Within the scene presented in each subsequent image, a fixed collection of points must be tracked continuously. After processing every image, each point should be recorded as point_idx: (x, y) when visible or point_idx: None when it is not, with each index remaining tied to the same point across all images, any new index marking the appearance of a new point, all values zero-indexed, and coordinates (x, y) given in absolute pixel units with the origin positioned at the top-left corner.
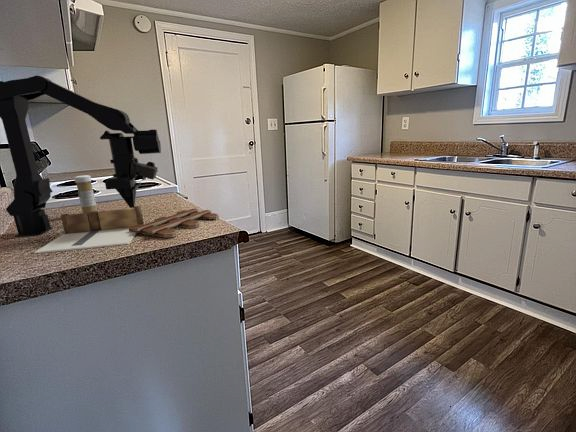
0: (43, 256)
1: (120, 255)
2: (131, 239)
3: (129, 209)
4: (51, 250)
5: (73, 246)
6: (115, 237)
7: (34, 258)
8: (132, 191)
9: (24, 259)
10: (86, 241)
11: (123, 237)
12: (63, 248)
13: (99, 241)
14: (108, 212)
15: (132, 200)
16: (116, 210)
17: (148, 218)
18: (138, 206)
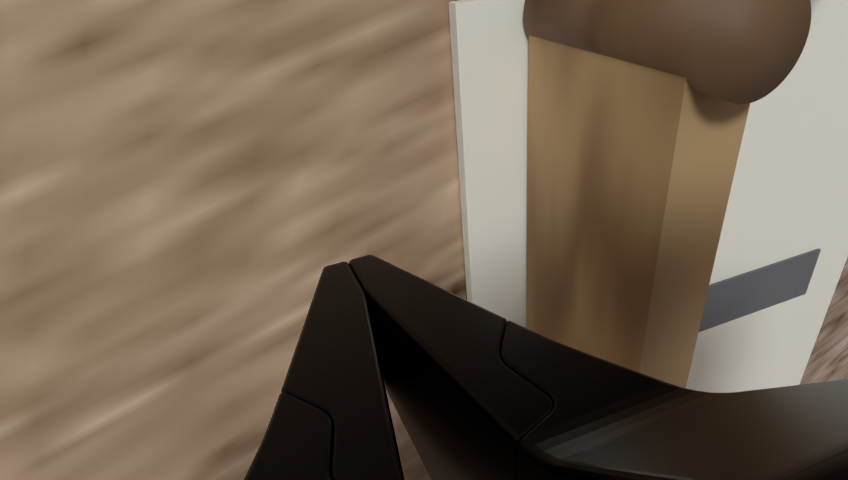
0: (842, 328)
1: None
2: None
3: (713, 159)
4: (815, 340)
5: (817, 276)
6: (794, 103)
7: (844, 345)
8: (696, 394)
9: (832, 374)
10: (771, 261)
11: (828, 31)
12: (819, 305)
13: (817, 175)
14: (684, 358)
15: (462, 309)
16: (682, 309)
17: (85, 84)
18: (765, 21)
